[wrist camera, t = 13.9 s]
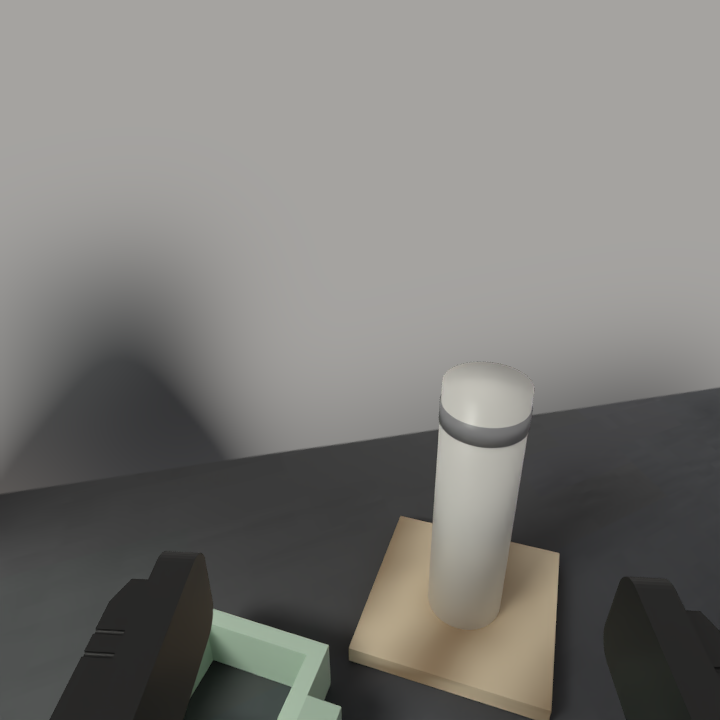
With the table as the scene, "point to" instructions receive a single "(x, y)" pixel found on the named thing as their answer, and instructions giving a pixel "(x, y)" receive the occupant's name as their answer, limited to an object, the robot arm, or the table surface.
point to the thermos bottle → (476, 489)
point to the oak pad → (458, 646)
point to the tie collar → (274, 663)
